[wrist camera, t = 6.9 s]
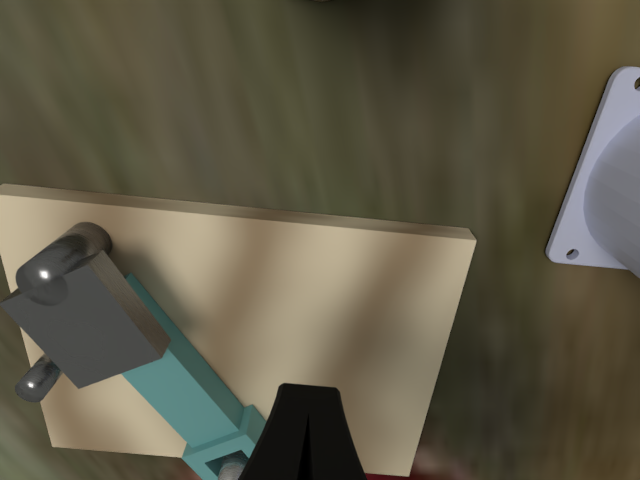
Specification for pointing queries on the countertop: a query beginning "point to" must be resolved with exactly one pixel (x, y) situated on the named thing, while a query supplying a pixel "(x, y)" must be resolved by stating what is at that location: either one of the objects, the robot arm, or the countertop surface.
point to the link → (194, 399)
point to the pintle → (232, 465)
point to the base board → (261, 311)
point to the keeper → (81, 314)
